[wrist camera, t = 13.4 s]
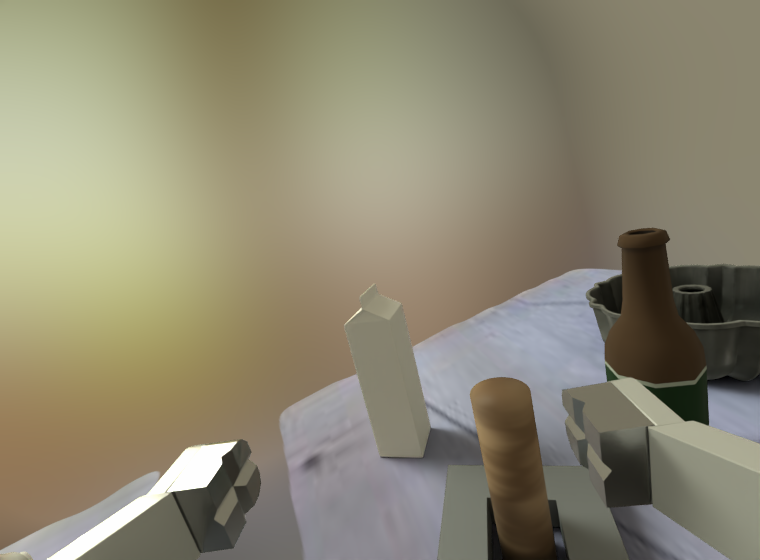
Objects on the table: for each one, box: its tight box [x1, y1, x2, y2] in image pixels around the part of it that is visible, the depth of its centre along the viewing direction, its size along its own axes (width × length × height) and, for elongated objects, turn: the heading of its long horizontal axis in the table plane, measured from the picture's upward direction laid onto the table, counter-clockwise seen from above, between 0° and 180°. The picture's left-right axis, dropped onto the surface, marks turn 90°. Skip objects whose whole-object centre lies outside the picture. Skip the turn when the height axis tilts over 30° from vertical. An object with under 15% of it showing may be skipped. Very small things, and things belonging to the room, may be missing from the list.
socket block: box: [437, 465, 629, 560], centre depth 30 cm, size 14×14×3 cm
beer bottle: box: [605, 228, 709, 426], centre depth 34 cm, size 8×8×24 cm
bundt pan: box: [586, 264, 760, 381], centre depth 52 cm, size 26×26×10 cm
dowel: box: [470, 377, 558, 560], centre depth 28 cm, size 4×4×16 cm
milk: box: [344, 284, 431, 458], centre depth 46 cm, size 6×6×22 cm
